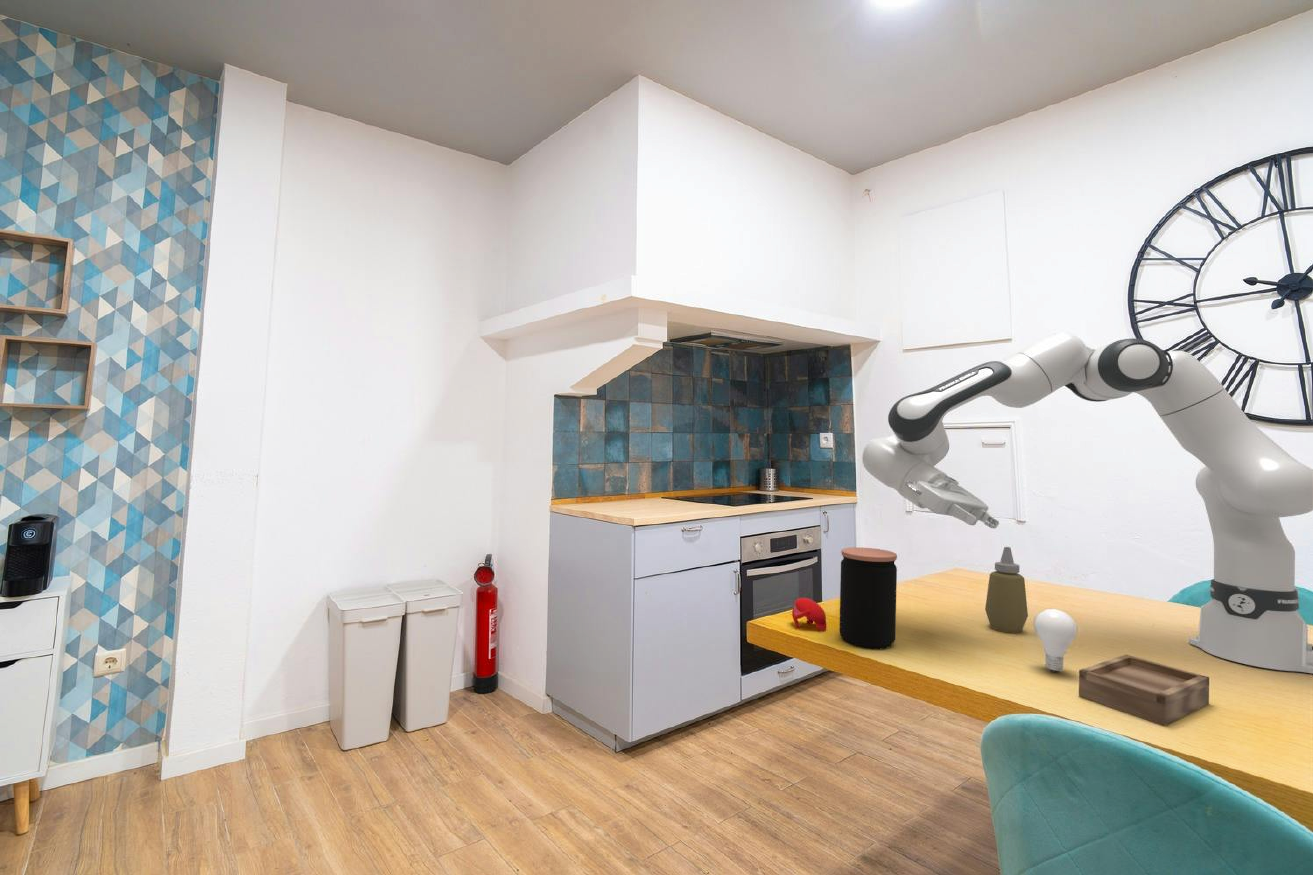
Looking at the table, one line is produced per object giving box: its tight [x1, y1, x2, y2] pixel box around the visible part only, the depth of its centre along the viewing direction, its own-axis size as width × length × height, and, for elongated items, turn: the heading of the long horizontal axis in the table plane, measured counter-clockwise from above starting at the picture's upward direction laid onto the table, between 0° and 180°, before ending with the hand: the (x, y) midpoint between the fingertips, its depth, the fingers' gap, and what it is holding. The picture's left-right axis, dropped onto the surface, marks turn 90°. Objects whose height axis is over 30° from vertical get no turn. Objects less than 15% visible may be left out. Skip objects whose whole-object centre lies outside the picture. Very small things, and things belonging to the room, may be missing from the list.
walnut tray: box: [1078, 654, 1210, 727], centre depth 93 cm, size 16×11×4 cm
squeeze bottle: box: [984, 546, 1029, 634], centre depth 128 cm, size 8×8×18 cm
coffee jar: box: [838, 546, 898, 650], centre depth 118 cm, size 11×11×18 cm
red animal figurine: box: [791, 597, 827, 633], centre depth 126 cm, size 8×6×6 cm
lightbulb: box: [1033, 608, 1078, 673], centre depth 104 cm, size 6×6×11 cm
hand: (985, 523), depth 113 cm, fingers open, 8 cm apart
